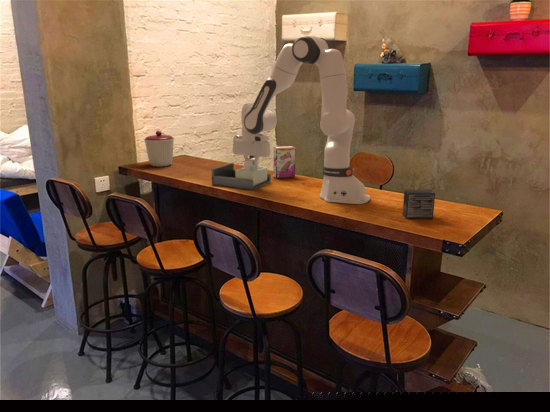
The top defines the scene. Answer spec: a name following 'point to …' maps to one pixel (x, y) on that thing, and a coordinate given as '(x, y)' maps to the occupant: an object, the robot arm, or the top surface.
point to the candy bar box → (284, 162)
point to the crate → (252, 172)
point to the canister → (159, 149)
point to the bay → (233, 178)
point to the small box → (418, 203)
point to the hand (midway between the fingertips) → (251, 164)
